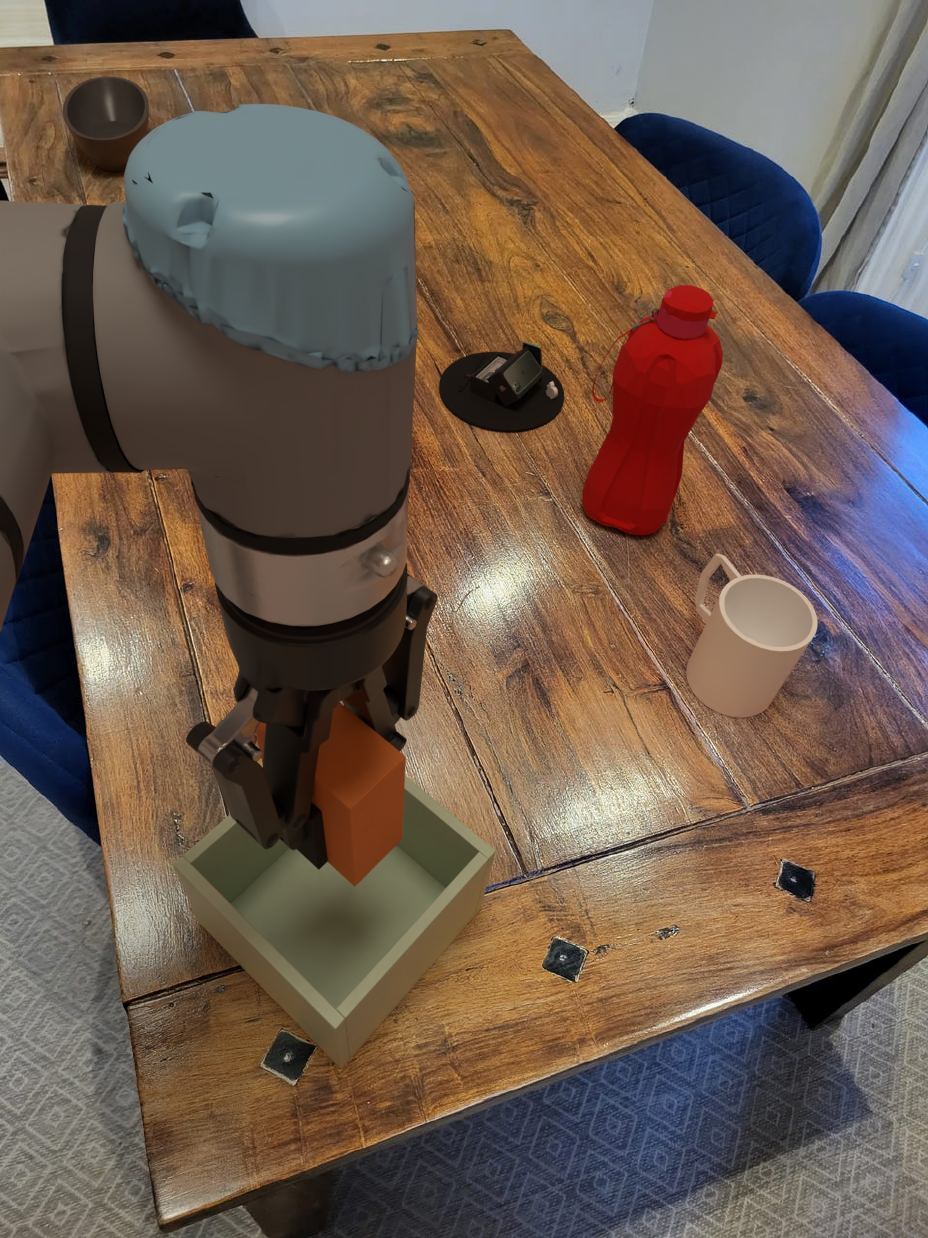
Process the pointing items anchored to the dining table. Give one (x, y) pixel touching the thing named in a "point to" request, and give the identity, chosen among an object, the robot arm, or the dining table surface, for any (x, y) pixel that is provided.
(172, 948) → the dining table surface
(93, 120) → the bowl
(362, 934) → the open square bin
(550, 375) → the black round base
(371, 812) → the orange rectangular prism
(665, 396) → the water bottle
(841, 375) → the dining table surface
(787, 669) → the cup
